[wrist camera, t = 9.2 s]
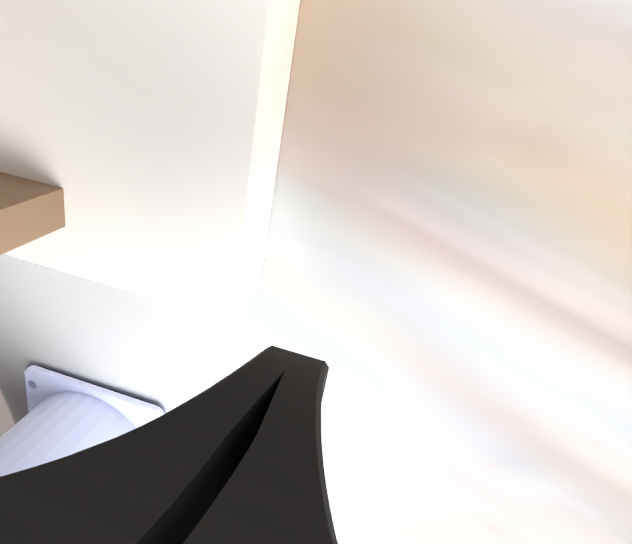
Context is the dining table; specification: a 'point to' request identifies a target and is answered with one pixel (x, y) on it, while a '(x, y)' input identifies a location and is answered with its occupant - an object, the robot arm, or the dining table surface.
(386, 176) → the dining table surface
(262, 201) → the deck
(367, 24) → the dining table surface
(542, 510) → the dining table surface
